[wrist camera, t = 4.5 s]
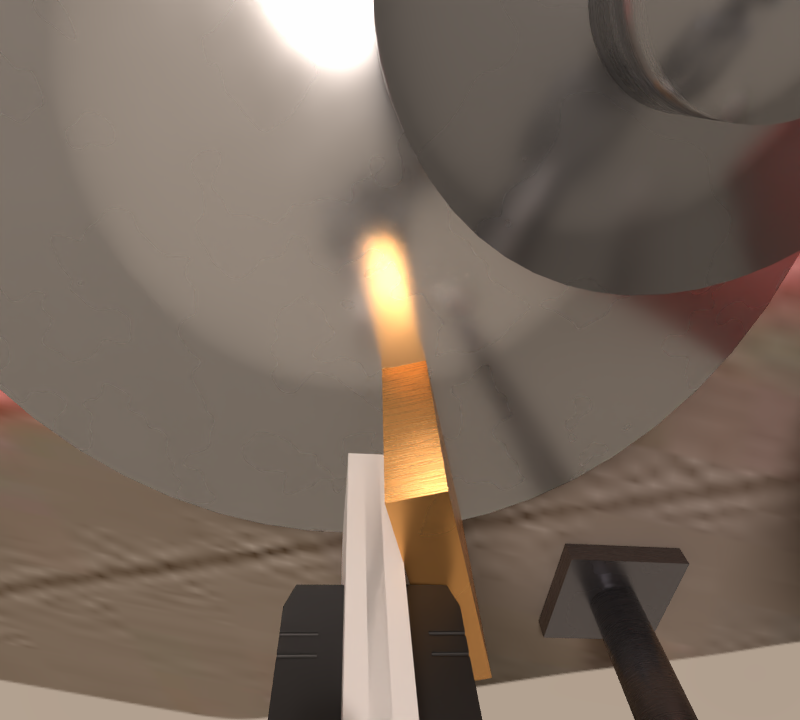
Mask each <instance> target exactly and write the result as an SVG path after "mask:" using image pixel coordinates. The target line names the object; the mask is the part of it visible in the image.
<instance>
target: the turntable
mask: <svg viewBox="0 0 800 720" xmlns="http://www.w3.org/2000/svg"><path fill="white" fill-rule="evenodd" d="M799 254H800V251H798V252H796V253H794V254H792V255H790V256H789V257H787V258H785V259H783V260H781V261H779V262H777V263H775V264H773V265H771V266H768V267H766V268H763V269H760V270H758V271H755V272H753V273H750V274H748V275H745V276H742V277H740V278H737V279H734V280H731V281H727V282H723V283H720V284H716V285H712V286H709V287H705V288H701V289H696V290H690V291H683V292H677V293H670V294H660V295H632V296H631V295H620V294H609V293H598V292H593V291H589V290H585V289H580V288H576V287H572V286H567V285H564V284H561V283H559V282H556V281H553V280H551V279H548V278H546V277H543V276H540V275H538V274H535V273H533V272H531V271H530V270H528V269H526V268H524V267H522V266H520V265H519V264H517V263H515V262H513V261H511V260H510V259H508V258H506V257H505V256H503V255H502V254H501V253H499V252H498V251H497V250H495V249H494V248H493V247H491V246H490V245H489V244H487V243H486V242H485V241H483V240H482V239H481V238H479V237H478V236H477V235H476V234H475V233H474V232H473V231H472V230H471V229H470V228H469V227H468V226H467V225H466V224H465V223H464V222H463V221H462V220H461V219H460V218H459V217H458V216H457V215H456V214H455V213H454V212H453V211H452V209H451V208H450V207H449V205H448V204H447V203H446V201H445V200H444V199H443V197H442V196H441V195H440V193H439V192H438V191H437V189H436V188H435V187H434V185H433V184H432V183H431V181H430V180H429V178H428V176H427V174H426V173H425V171H424V169H423V167H422V165H421V164H420V162H419V160H418V158H417V156H416V155H415V153H414V151H413V149H412V148H411V146H410V144H409V142H408V139H407V137H406V135H405V133H404V130H403V128H402V126H401V124H400V121H399V119H398V117H397V115H396V112H395V110H394V107H393V105H392V102H391V100H390V97H389V95H388V92H387V90H386V86H385V82H384V79H383V75H382V71H381V68H380V64H379V59H378V52H377V46H376V39H375V33H374V8H373V0H0V390H2V391H3V392H4V393H5V394H6V395H7V396H9V397H10V398H11V399H12V400H13V401H14V402H16V403H17V404H18V405H19V406H20V407H21V408H23V409H24V410H25V411H26V412H27V413H28V414H30V415H31V416H32V417H33V418H35V419H36V420H37V421H39V422H40V423H42V424H43V425H44V426H46V427H47V428H49V429H50V430H52V431H53V432H54V433H56V434H57V435H59V436H60V437H61V438H63V439H64V440H66V441H67V442H69V443H70V444H71V445H73V446H74V447H76V448H77V449H79V450H80V451H82V452H84V453H85V454H87V455H89V456H91V457H92V458H94V459H96V460H98V461H99V462H101V463H103V464H105V465H106V466H108V467H110V468H112V469H113V470H115V471H117V472H119V473H120V474H122V475H124V476H126V477H128V478H130V479H133V480H135V481H137V482H139V483H141V484H144V485H146V486H148V487H150V488H152V489H155V490H157V491H159V492H161V493H164V494H166V495H168V496H170V497H173V498H176V499H179V500H181V501H184V502H187V503H190V504H193V505H196V506H199V507H202V508H205V509H208V510H211V511H213V512H216V513H220V514H224V515H228V516H233V517H237V518H241V519H245V520H249V521H253V522H257V523H262V524H267V525H274V526H281V527H288V528H295V529H302V530H309V531H329V532H343V522H344V508H345V494H346V480H347V466H348V453H357V454H380V455H384V493H385V506H386V509H387V512H388V515H389V519H390V522H391V525H392V528H393V531H394V535H395V538H396V541H397V544H398V547H399V550H400V554H401V557H402V560H403V562H404V566H405V570H406V573H407V576H408V579H409V582H410V585H447V586H448V588H449V589H450V591H451V593H452V594H453V596H454V597H455V599H456V600H457V602H458V604H459V605H460V608H461V613H462V618H463V623H464V628H465V636H466V639H467V644H468V649H469V657H470V659H471V665H472V670H473V675H474V680H481V679H487V678H492V676H491V670H490V665H489V660H488V655H487V650H486V644H485V639H484V634H483V629H482V623H481V618H480V613H479V608H478V602H477V597H476V592H475V587H474V581H473V576H472V571H471V566H470V560H469V555H468V550H467V545H466V539H465V534H464V529H463V524H462V520H464V519H468V518H472V517H477V516H481V515H485V514H489V513H492V512H494V511H497V510H500V509H503V508H506V507H509V506H512V505H515V504H518V503H521V502H524V501H526V500H529V499H532V498H534V497H536V496H538V495H541V494H543V493H545V492H547V491H549V490H552V489H554V488H556V487H558V486H560V485H563V484H565V483H567V482H569V481H571V480H574V479H575V478H577V477H579V476H580V475H582V474H584V473H586V472H587V471H589V470H591V469H593V468H594V467H596V466H598V465H599V464H601V463H603V462H605V461H606V460H608V459H610V458H612V457H613V456H615V455H616V454H618V453H619V452H621V451H622V450H623V449H625V448H626V447H628V446H629V445H630V444H632V443H633V442H635V441H636V440H637V439H639V438H640V437H642V436H643V435H644V434H646V433H647V432H649V431H650V430H651V429H653V428H654V427H655V426H657V425H658V424H659V423H660V422H661V421H662V420H663V419H665V418H666V417H667V416H668V415H669V414H670V413H671V412H673V411H674V410H675V409H676V408H677V407H678V406H679V405H681V404H682V403H683V402H684V401H685V400H686V399H687V398H689V397H690V396H691V395H692V394H693V393H694V392H695V391H696V390H697V389H698V388H699V387H700V386H701V385H702V384H703V383H704V382H705V381H706V380H707V378H708V377H709V376H710V375H711V374H712V373H713V372H714V371H715V370H716V369H717V368H718V367H719V366H720V365H721V363H722V362H723V361H724V360H725V359H726V358H727V357H728V356H729V355H730V354H731V353H732V352H733V350H734V349H735V348H736V346H737V345H738V344H739V342H740V341H741V340H742V339H743V337H744V336H745V335H746V333H747V332H748V331H749V329H750V328H751V327H752V325H753V324H754V323H755V321H756V320H757V319H758V318H759V316H760V315H761V314H762V312H763V311H764V310H765V308H766V307H767V306H768V304H769V303H770V301H771V299H772V298H773V296H774V294H775V293H776V291H777V289H778V288H779V286H780V285H781V283H782V281H783V280H784V278H785V276H786V275H787V273H788V272H789V270H790V268H791V267H792V265H793V263H794V262H795V260H796V258H797V257H798V255H799Z"/></svg>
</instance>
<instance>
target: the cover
mask: <svg viewBox="0 0 800 720" xmlns="http://www.w3.org/2000/svg"><path fill="white" fill-rule="evenodd" d="M373 8H374V33H375V39H376V46H377V52H378V59H379V64H380V68H381V71H382V75H383V79H384V82H385V86H386V90H387V92H388V95H389V97H390V100H391V102H392V105H393V107H394V110H395V112H396V115H397V117H398V119H399V121H400V124H401V126H402V128H403V130H404V133H405V135H406V137H407V139H408V142H409V144H410V146H411V148H412V149H413V151H414V153H415V155H416V156H417V158H418V160H419V162H420V164H421V165H422V167H423V169H424V171H425V173H426V174H427V176H428V178H429V180H430V181H431V183H432V184H433V185H434V187H435V188H436V189H437V191H438V192H439V193H440V195H441V196H442V197H443V199H444V200H445V201H446V203H447V204H448V205H449V207H450V208H451V209H452V211H453V212H454V213H455V214H456V215H457V216H458V217H459V218H460V219H461V220H462V221H463V222H464V223H465V224H466V225H467V226H468V227H469V228H470V229H471V230H472V231H473V232H474V233H475V234H476V235H477V236H478V237H479V238H481V239H482V240H483V241H485V242H486V243H487V244H489V245H490V246H491V247H493V248H494V249H495V250H497V251H498V252H499V253H501V254H502V255H503V256H505V257H506V258H508V259H510V260H511V261H513V262H515V263H517V264H519V265H520V266H522V267H524V268H526V269H528V270H530V271H531V272H533V273H535V274H538V275H540V276H543V277H546V278H548V279H551V280H553V281H556V282H559V283H561V284H564V285H567V286H572V287H576V288H580V289H585V290H589V291H593V292H598V293H609V294H620V295H631V296H632V295H660V294H670V293H677V292H683V291H690V290H696V289H701V288H705V287H709V286H712V285H716V284H720V283H723V282H727V281H731V280H734V279H737V278H740V277H742V276H745V275H748V274H750V273H753V272H755V271H758V270H760V269H763V268H766V267H768V266H771V265H773V264H775V263H777V262H779V261H781V260H783V259H785V258H787V257H789V256H790V255H792V254H794V253H796V252H798V251H800V0H373Z"/></svg>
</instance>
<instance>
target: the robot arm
mask: <svg viewBox="0 0 800 720" xmlns="http://www.w3.org/2000/svg"><path fill="white" fill-rule="evenodd" d="M268 720H482V716H481V711H480V706H479V701H478V695H477V690H476V685H475V680H474V675H473V670H472V665H471V659H470V657H469V649H468V644H467V639H466V636H465V628H464V623H463V618H462V613H461V608H460V605H459V604H458V602H457V600H456V599H455V597H454V596H453V594H452V593H451V591H450V589H449V588H448V586H447V585H406V581H405V571H404V562H403V560H402V557H401V554H400V550H399V547H398V544H397V541H396V538H395V535H394V531H393V528H392V525H391V522H390V519H389V515H388V512H387V509H386V506H385V493H384V455H380V454H357V453H348V466H347V480H346V494H345V508H344V522H343V545H342V578H341V585H296V586H295V588H294V589H293V591H292V593H291V594H290V596H289V598H288V599H287V601H286V603H285V604H284V606H283V612H282V619H281V627H280V636H279V641H278V649H277V658H276V663H275V671H274V678H273V685H272V693H271V700H270V708H269V715H268Z"/></svg>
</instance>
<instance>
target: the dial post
mask: <svg viewBox="0 0 800 720" xmlns="http://www.w3.org/2000/svg"><path fill="white" fill-rule="evenodd" d="M688 565H689V563H688V561H687V560H686V558H685V556H684V555H683V553H682V552H681V550H680V549H676V548H652V547H627V546H603V545H578V544H565V547H564V550H563V553H562V556H561V559H560V562H559V565H558V567H557V570H556V573H555V576H554V579H553V582H552V585H551V588H550V591H549V594H548V596H547V599H546V602H545V605H544V608H543V611H542V614H541V617H540V620H539V623H540V626H541V630H542V633H543V636H544V637H550V638H588V639H603V641H604V643H605V646H606V648H607V651H608V653H609V656H610V659H611V661H612V664H613V666H614V669H615V671H616V674H617V676H618V679H619V681H620V683H621V686H622V689H623V691H624V694H625V696H626V699H627V701H628V704H629V706H630V709H631V711H632V714H633V716H634V719H635V720H698V719H697V717H696V715H695V713H694V711H693V709H692V707H691V705H690V703H689V701H688V699H687V697H686V695H685V693H684V690H683V689H682V687H681V684H680V682H679V680H678V679H677V676H676V674H675V672H674V670H673V668H672V666H671V664H670V662H669V660H668V658H667V656H666V654H665V652H664V650H663V648H662V646H661V644H660V642H659V640H658V638H657V636H656V634H655V630H656V628H657V626H658V624H659V622H660V620H661V618H662V616H663V614H664V612H665V610H666V608H667V607H668V605H669V603H670V601H671V599H672V597H673V595H674V593H675V591H676V589H677V587H678V585H679V583H680V581H681V579H682V577H683V575H684V573H685V571H686V569H687V567H688Z"/></svg>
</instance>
